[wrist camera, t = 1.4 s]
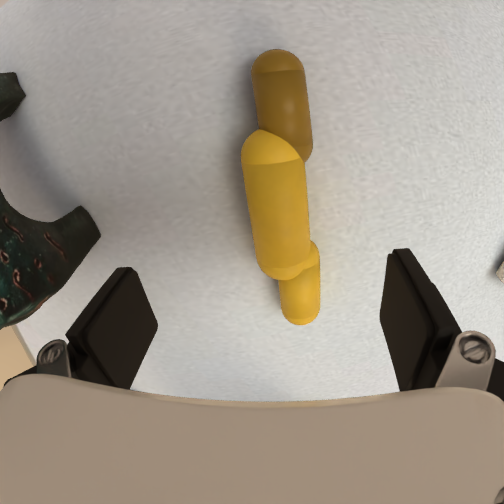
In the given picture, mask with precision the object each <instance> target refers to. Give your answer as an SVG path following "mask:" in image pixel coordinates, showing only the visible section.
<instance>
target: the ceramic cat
mask: <svg viewBox="0 0 504 504" xmlns="http://www.w3.org/2000/svg"><path fill="white" fill-rule="evenodd" d="M25 96H26V95H25V93H24V92H23V90H22V89H21V87H20V85H19V83H18V79H17V76H16V73H14V72H9V73H0V121H2V120H4V119H6V118H8V117H10V116H11V115H12V114H13V113H14V112H15V110H16V109H17V107H18V105H19V104H20V102H21V101H22V99H23V98H24V97H25ZM100 237H101V234H100V232H99V230H98V228H97V226H96V224H95V222H94V221H93V219H92V218H91V216H90V215H89V213H88V212H87V211H86V210H85V209H84V208H83V207H82V206H81V205H80V206H78V207H77V208H75V209H74V210H73V211H71V212H70V213H68V214H67V215H65V216H64V217H62V218H60V219H58V220H56V221H54V222H41V221H36V220H32V219H30V218H27V217H26V216H24V215H22V214H20V213H19V212H18V211H16V210H15V209H14V208H13V207H12V206H10V204H9V203H8V202H7V200H6V199H5V197H4V195H3V193H2V191H1V189H0V330H1V329H2V328H3V327H7V326H11V325H14V324H17V323H19V322H21V321H23V320H25V319H26V318H28V317H29V316H31V315H32V314H33V313H34V312H36V311H37V310H38V309H39V308H40V307H41V306H42V304H43V303H44V302H45V301H47V300H48V299H49V298H50V297H52V296H53V295H54V294H55V293H57V292H58V291H59V290H60V289H61V288H62V287H63V286H64V285H65V284H66V282H67V281H68V280H69V278H70V277H71V276H72V274H73V273H74V271H75V270H76V269H77V267H78V266H79V265H80V264H81V262H82V261H83V259H84V258H85V256H86V255H87V254H88V252H89V251H90V250H91V248H92V247H93V246H94V245H95V244H96V242H97V241H98V240H99V238H100Z"/></svg>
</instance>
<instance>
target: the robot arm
mask: <svg viewBox="0 0 504 504" xmlns="http://www.w3.org/2000/svg"><path fill="white" fill-rule="evenodd" d="M380 323H381V326H382V329H383V332H384V335H385V339H386V342H387V345H388V349H389V352H390V356H391V359H392V363H393V366H394V370H395V374H396V378H397V382H398V385H399V389H400V392H395V393H388V394H380V395H372V396H363V397H353V398H342V399H330V400H314V401H288V402H251V401H224V400H208V399H196V398H185V397H176V396H167V395H160V394H152V393H145V392H139V391H133V390H129V389H130V387H131V385H132V383H133V381H134V378H135V376H136V374H137V372H138V370H139V367H140V365H141V363H142V361H143V359H144V357H145V355H146V352H147V350H148V348H149V346H150V344H151V342H152V340H153V338H154V336H155V334H156V332H157V329H158V323H157V320H156V318H155V315H154V313H153V311H152V308H151V306H150V303H149V301H148V299H147V296H146V294H145V291H144V289H143V286H142V284H141V281H140V278H139V276H138V273H137V272H136V271H135V270H133V268H132V267H119V268H117V269H116V270H115V271H114V272H113V273H112V275H111V276H110V277H109V278H108V280H107V281H106V282H105V283H104V284H103V286H102V287H101V288H100V289H99V291H98V292H97V293H96V294H95V296H94V297H93V298H92V300H91V301H90V302H89V303H88V305H87V306H86V307H85V309H84V310H83V311H82V313H81V314H80V315H79V316H78V318H77V319H76V321H75V322H74V323H73V325H72V326H71V327H70V329H69V330H68V331H67V333H66V334H65V335H66V337H67V338H68V340H69V343H68V345H67V344H66V342H65V341H64V340H60V339H58V340H53V341H50V342H49V343H47V344H46V345H45V346H43V347H42V349H41V350H40V351H39V353H38V355H37V365H36V366H34V367H32V368H30V369H28V370H26V371H24V372H22V373H21V374H18V375H17V376H15V377H13V378H10V379H8V380H7V381H6V382H5V384H4V387H3V389H2V390H1V391H0V504H504V362H502V361H500V360H498V359H496V358H495V353H496V350H495V347H494V344H493V343H492V341H491V340H490V339H489V338H488V337H487V336H486V335H484V334H482V333H480V332H477V331H465V332H462V331H461V329H460V327H459V326H458V324H457V322H456V320H455V318H454V317H453V315H452V313H451V311H450V309H449V308H448V306H447V304H446V303H445V301H444V299H443V297H442V296H441V294H440V292H439V291H438V289H437V288H436V286H435V285H434V284H433V283H431V281H430V279H429V278H428V276H427V275H426V273H425V271H424V270H423V268H422V267H421V265H420V264H419V262H418V261H417V259H416V258H415V256H414V255H413V253H412V252H411V250H410V249H409V248H404V249H394V250H393V252H392V254H388V257H387V265H386V274H385V281H384V289H383V296H382V302H381V308H380Z"/></svg>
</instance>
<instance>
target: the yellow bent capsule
mask: <svg viewBox="0 0 504 504" xmlns="http://www.w3.org/2000/svg"><path fill="white" fill-rule="evenodd" d="M251 78H252V85H253V91H254V98H255V105H256V112H257V118H258V125H259V129H258V130H256V131H255V132H253V133H252V134H251V135H250V136H249V137H248V138H247V139H246V141H245V142H244V144H243V147H242V150H241V164H242V170H243V176H244V183H245V189H246V195H247V202H248V208H249V215H250V221H251V227H252V234H253V240H254V247H255V253H256V259H257V262H258V265H259V266H260V268H261V270H262V271H263V272H264V273H265V274H266V275H268V276H269V277H271V278H273V279H277V280H278V283H279V292H280V301H281V309H282V313H283V315H284V317H285V318H286V319H287V320H288V321H289V322H291V323H293V324H295V325H306V324H308V323H310V322H312V321H313V320H314V319H315V318H316V317H317V315H318V313H319V310H320V256H319V251H318V248H317V247H316V245H315V244H314V243H313V242H312V241H311V240H310V230H309V214H308V199H307V186H306V174H305V162H306V161H307V160H308V158H309V157H310V155H311V152H312V149H313V139H312V129H311V120H310V111H309V102H308V94H307V87H306V79H305V72H304V68H303V65H302V63H301V61H300V60H299V59H298V58H297V57H296V56H295V55H294V54H292V53H290V52H288V51H285V50H280V49H273V50H269V51H266V52H264V53H262V54H261V55H259V56H258V57H257V58H256V60H255V61H254V63H253V65H252V69H251Z"/></svg>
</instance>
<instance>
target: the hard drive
mask: <svg viewBox="0 0 504 504" xmlns="http://www.w3.org/2000/svg"><path fill="white" fill-rule="evenodd" d="M496 274H497V276H498V277H499V279H500V280H501V281H502V282H503V283H504V261H503V263H502V264H501V266H500V267H499V269H498V270H497V272H496Z"/></svg>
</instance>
